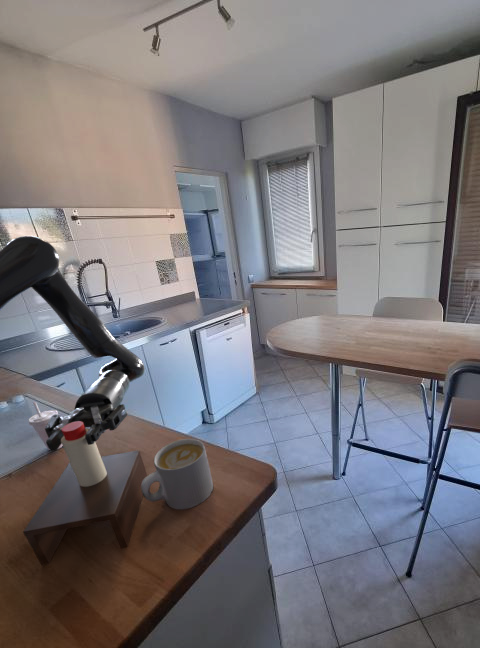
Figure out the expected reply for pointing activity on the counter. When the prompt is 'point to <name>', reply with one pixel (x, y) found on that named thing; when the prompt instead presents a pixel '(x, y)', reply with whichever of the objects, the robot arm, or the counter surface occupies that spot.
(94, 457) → the spice bottle
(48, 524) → the shelf
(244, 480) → the counter surface
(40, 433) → the smoothie
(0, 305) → the robot arm
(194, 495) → the coffee mug
